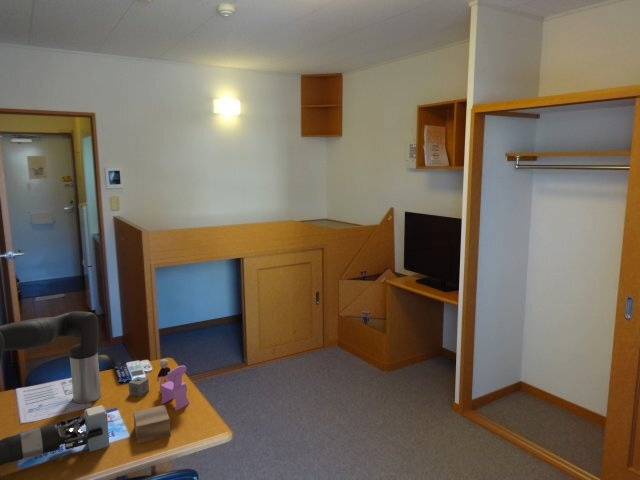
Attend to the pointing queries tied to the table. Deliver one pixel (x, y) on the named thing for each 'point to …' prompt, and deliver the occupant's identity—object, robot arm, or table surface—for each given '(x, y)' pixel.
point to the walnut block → (151, 423)
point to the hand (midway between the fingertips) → (99, 424)
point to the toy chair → (175, 388)
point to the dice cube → (138, 386)
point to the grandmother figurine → (163, 372)
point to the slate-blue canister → (95, 420)
